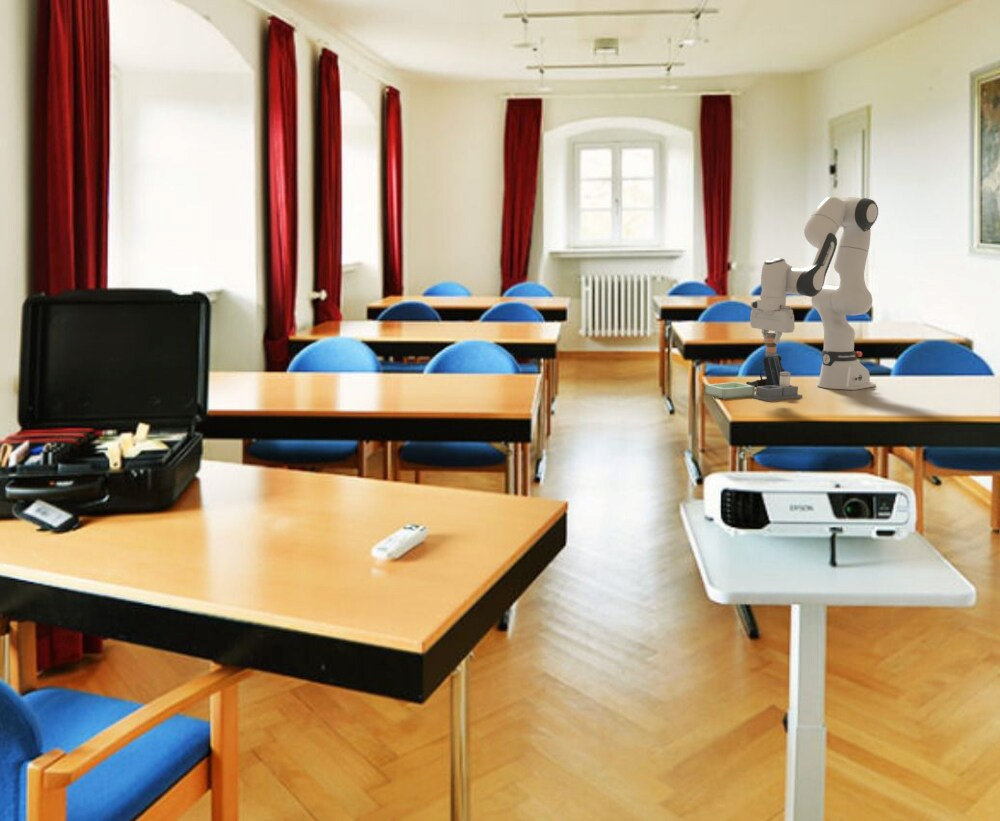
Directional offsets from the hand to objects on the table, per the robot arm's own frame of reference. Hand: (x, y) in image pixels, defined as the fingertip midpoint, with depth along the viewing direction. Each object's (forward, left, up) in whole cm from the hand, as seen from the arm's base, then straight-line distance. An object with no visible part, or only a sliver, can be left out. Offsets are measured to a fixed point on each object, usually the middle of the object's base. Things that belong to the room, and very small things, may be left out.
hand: (771, 342), depth 367 cm
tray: (+9, -12, -20) cm, 25 cm away
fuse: (-7, 0, -19) cm, 20 cm away
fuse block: (-3, 0, -20) cm, 21 cm away
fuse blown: (0, 0, -5) cm, 5 cm away
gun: (-10, -14, -21) cm, 27 cm away
